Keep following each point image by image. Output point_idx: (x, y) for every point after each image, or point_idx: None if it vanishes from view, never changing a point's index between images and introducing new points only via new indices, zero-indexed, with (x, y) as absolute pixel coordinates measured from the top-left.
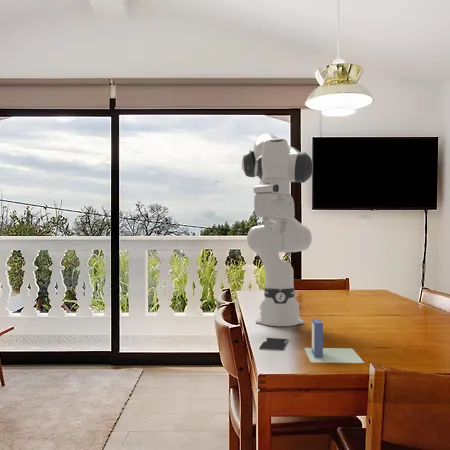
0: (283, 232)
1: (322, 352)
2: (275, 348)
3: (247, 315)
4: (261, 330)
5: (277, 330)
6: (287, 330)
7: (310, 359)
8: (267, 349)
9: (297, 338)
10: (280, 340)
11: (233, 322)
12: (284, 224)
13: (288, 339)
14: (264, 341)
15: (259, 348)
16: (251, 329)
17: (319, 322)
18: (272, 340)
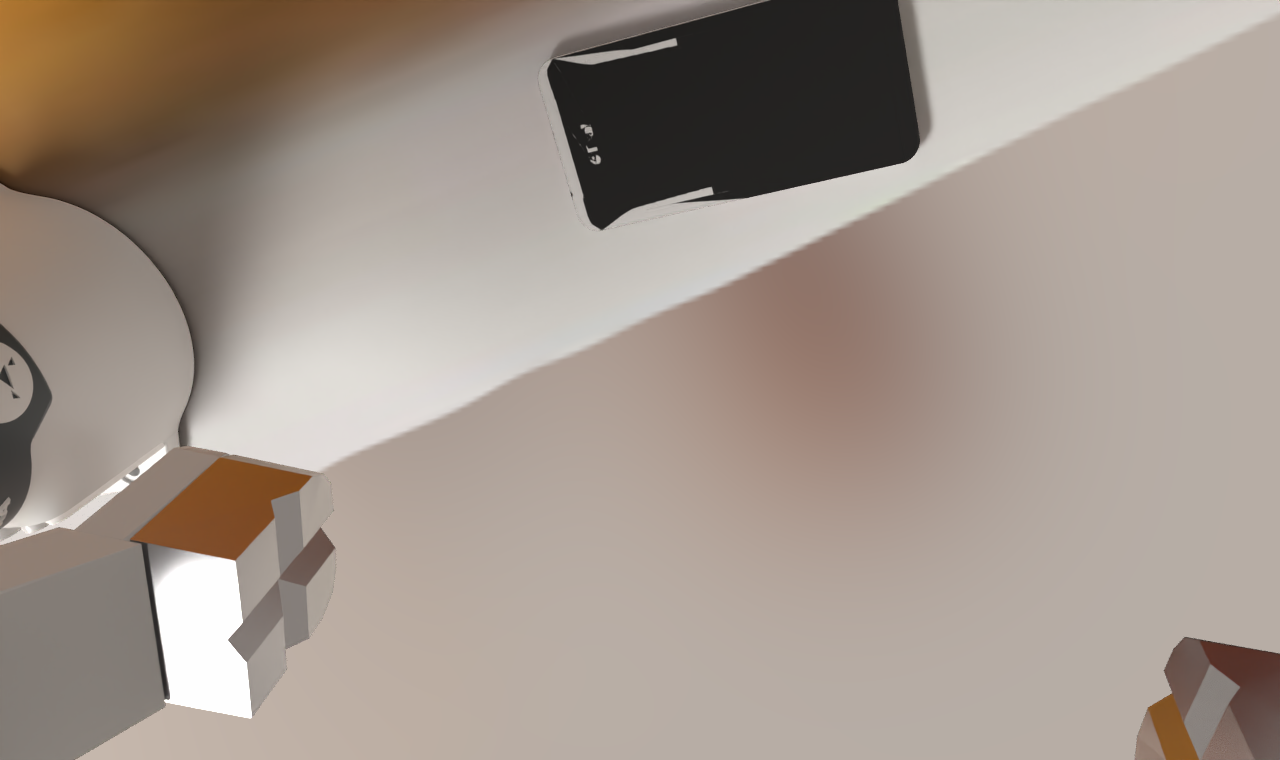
0: (329, 488)
1: None
2: (869, 44)
3: None
4: (344, 362)
5: (277, 261)
6: (232, 195)
7: None
8: (911, 93)
9: (423, 29)
10: (618, 102)
11: None
12: (16, 668)
13: (555, 57)
14: (705, 200)
15: (911, 157)
16: (358, 432)
17: None
18: (647, 158)
